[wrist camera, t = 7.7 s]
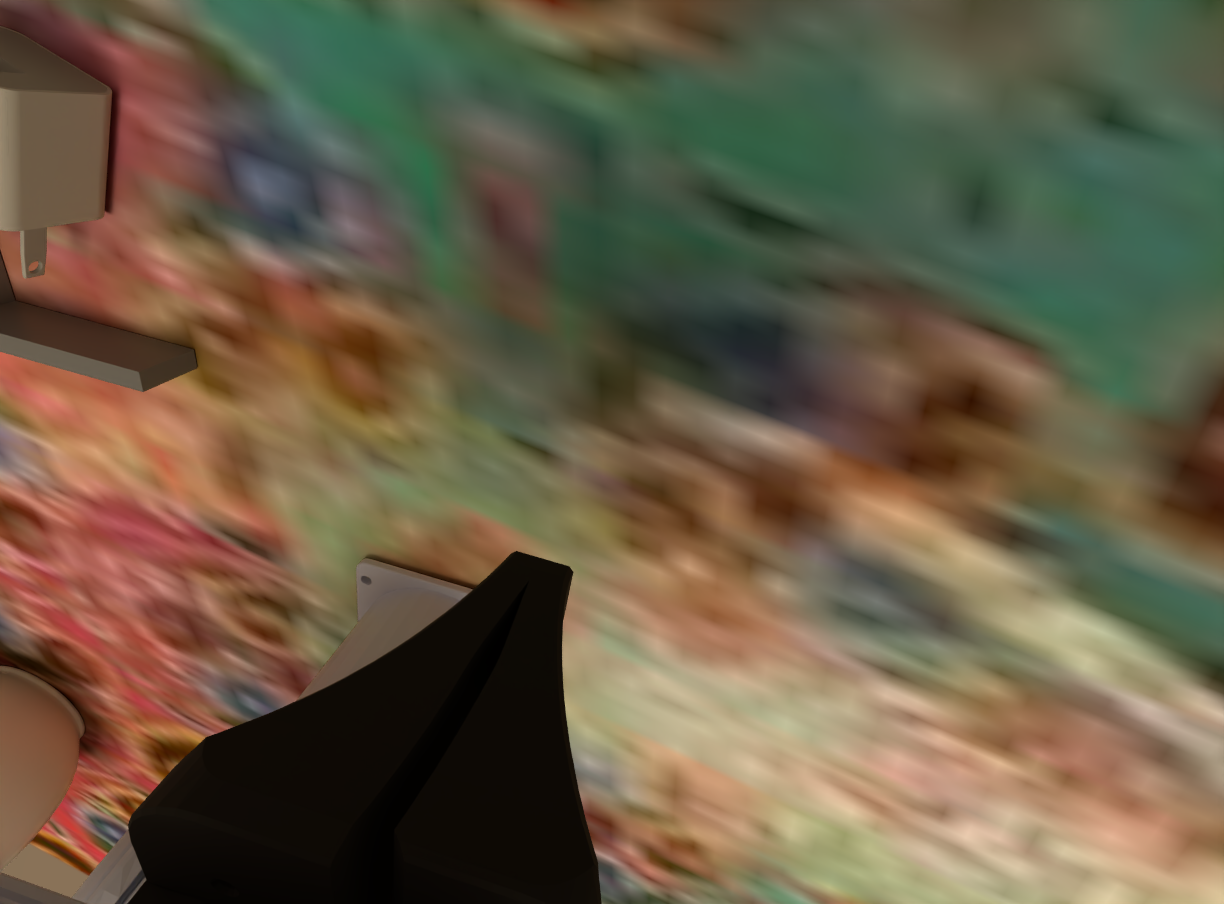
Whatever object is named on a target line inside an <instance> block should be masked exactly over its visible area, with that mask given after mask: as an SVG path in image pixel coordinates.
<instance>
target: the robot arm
mask: <svg viewBox="0 0 1224 904" xmlns="http://www.w3.org/2000/svg"><path fill="white" fill-rule="evenodd" d="M572 576H573V571H572V569H571V568H570V567H569V566H566V565H563V564H559V563H556V562H552V561H549V560H545V559H542V558H539V557H535V556H532V555H528V554H525V553H521V552H518V551H516V552H514V553H512V554H510V555H509V556H508V557H507V558H506V559H505V561H504V562H502V563H501V564H500V565H499V566H498V567H497V568H496V569H495V570H494V571H493V572H492V573H491V574H490V575H489V576H488V577H487V578H486V579H485V580H483V581H482V582H481V583H480V584H479V585H478V586H477V587H476V588H474V589H470V588H467V587H463V586H460V585H456V584H453V583H450V582H446V581H443V580H440V579H436V578H433V577H430V576H426V575H423V574H419V573H416V572H413V571H409V570H406V569H403V568H399V567H396V566H392V565H389V564H386V563H382V562H379V561H376V560H372V559H367V558H366V559H362V560H361V561H360V562H359V564H358V565H357V567H356V578H357V607H358V623H357V624H356V626H355V627H354V628H353V630H352V631H351V632H350V633H349V635H348V636H347V637H346V638H345V640H344V641H343V642H342V644H341V645H340V646H339V647H338V649H337V650H336V651H335V652H334V654H333V655H332V656H331V657H330V659H329V660H328V661H327V663H326V664H325V665H324V666H323V668H322V669H321V670H320V671H319V673H318V674H317V675H316V676H315V678H314V679H313V680H312V682H311V683H310V684H309V685H308V687H307V688H306V689H305V690H304V692H303V693H302V694H301V695H300V697H299V698H298V699H297V701H295V702H293V703H291V704H289V705H287V706H285V707H283V708H280V709H278V710H276V711H273V712H271V713H269V714H266V715H264V716H261V717H258V718H256V719H253V720H251V721H248V722H246V723H243V724H240V725H238V726H235V727H233V728H230V729H228V730H225V731H222V732H220V733H217V734H214V735H211V736H209V737H206V738H205V739H204V740H203V741H202V742H201V743H200V744H199V745H198V746H197V747H196V748H195V749H193V750H192V751H191V752H190V753H189V754H188V755H187V756H185V757H184V758H183V759H182V760H181V761H180V762H179V763H178V764H177V765H176V766H175V767H174V768H173V769H172V770H171V772H170V773H169V774H168V775H167V776H166V777H165V778H164V779H163V780H162V782H161V783H160V784H159V785H158V786H157V787H156V788H155V789H154V791H153V792H152V793H151V794H150V795H149V796H148V797H147V798H146V799H145V801H144V802H143V803H142V804H141V805H140V806H139V807H138V808H137V809H136V811H135V812H134V813H133V814H132V816H131V818H130V821H129V824H128V828H129V830H128V831H127V832H126V833H125V834H124V835H123V837H122V838H121V839H120V840H119V841H118V842H117V843H116V845H115V846H114V847H113V848H112V849H111V850H110V852H109V853H108V854H107V855H106V856H105V857H104V859H103V860H102V861H101V862H100V863H99V865H98V866H97V867H96V868H95V869H94V871H93V872H92V873H91V874H90V875H89V877H88V878H87V879H86V880H85V882H84V883H83V884H82V885H81V886H80V888H79V889H78V890H77V892H76V893H75V894H74V895H73V897H72V898H70V897H68V896H64V895H62V894H59V893H56V892H54V891H51V890H48V889H45V888H43V887H40V886H37V885H34V884H31V883H29V882H26V881H23V880H20V879H18V878H15V877H12V876H9V875H7V874H4V873H1V872H0V904H601V893H600V883H599V872H598V861H597V858H596V854H595V851H594V848H593V844H592V841H591V837H590V833H589V830H588V826H587V822H586V819H585V815H584V810H583V806H582V802H581V798H580V794H579V789H578V784H577V779H576V774H575V769H574V763H573V758H572V753H571V748H570V742H569V734H568V727H567V720H566V711H565V702H564V689H563V671H562V631H563V619H564V614H565V610H566V605H567V600H568V595H569V590H570V586H571V581H572ZM368 577H369V578H368Z"/></svg>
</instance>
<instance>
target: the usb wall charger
mask: <svg viewBox="0 0 1224 904" xmlns="http://www.w3.org/2000/svg"><path fill="white" fill-rule="evenodd" d="M111 102H112V90H111V88H110V87H108V86H107V85H105V84H103V83H102V82H100V81H98V80H97V79H95V78H93V77H92V76H90V75H89V74H87V73H85V72H84V71H82V70H80V69H79V68H77V67H75V66H74V65H72V64H71V63H69V62H67V61H66V60H64V59H62V58H61V57H59V56H57V55H56V54H54V53H53V52H51V51H49V50H48V49H46V48H44V47H43V46H41V45H39V44H38V43H36V42H35V41H33V40H31V39H30V38H28V37H26V36H25V35H23V34H21V33H19V32H16V31H14V30H11V29H9V28H6V27H2V26H0V230H3V231H20V251H21V264H22V274H23V277H24V278H31V277H35V276H40V275H44V272H45V262H46V251H47V227H51V226H58V225H65V224H72V223H78V222H85V221H92V220H98V219H101V218H103V217H104V211H105V196H106V180H107V165H108V149H109V133H110V118H111ZM35 261H38V263H39V265H38V267H37V268H36V269H35V270H34V271H29V270H28V268H29V265H30V264H31V263H32V262H35Z"/></svg>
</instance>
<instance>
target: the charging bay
mask: <svg viewBox="0 0 1224 904" xmlns="http://www.w3.org/2000/svg"><path fill="white" fill-rule="evenodd" d="M0 352H3V353H7V354H10V355H14V356H17V357H21V358H24V359H28V360H32V361H35V362H39V363H42V364H46V365H49V366H53V367H56V368H60V369H64V370H67V371H71V372H74V373H78V374H81V375H85V376H88V377H92V378H96V379H99V380H103V381H106V382H110V383H113V384H117V385H120V386H124V387H127V388H131V389H135V390H138V391H142V392H144V391H147V390H149V389H151V388H153V387H156V386H158V385H160V384H162V383H165V382H167V381H169V380H171V379H174V378H176V377H178V376H180V375H183V374H185V373H187V372H189V371H192V370H194V369H196V368H197V364H196V358H195V352H194V349H190V348H186V347H183V346H179V345H175V344H172V343H168V342H164V341H161V340H157V339H153V338H150V337H146V336H143V335H139V334H135V333H132V332H128V331H124V330H121V329H117V328H113V327H110V326H106V325H102V324H99V323H95V322H91V321H88V320H84V319H80V318H77V317H73V316H69V315H66V314H62V313H58V312H55V311H51V310H47V309H44V308H40V307H36V306H33V305H29V304H25V303H22V302H18V301H15V298H14V295H13V292H12V289H11V286H10V283H9V280H8V276H7V273H6V270H5V267H4V264H3V261H2V258H1V254H0Z"/></svg>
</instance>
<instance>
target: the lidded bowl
mask: <svg viewBox="0 0 1224 904" xmlns="http://www.w3.org/2000/svg"><path fill="white" fill-rule="evenodd" d="M84 732H85V725H84V722H83V719H82V717H81V715H80V714H79V712H78V711H77V709H76V708H75V707H74V706H73V704H72V703H71V702H70V701H69V700H68V699H67V698H66V697H65V696H64V695H62V694H61V693H60V692H59V691H58V690H56V689H55V688H54V687H52V686H51V685H50V684H48V683H47V682H45V681H43V680H42V679H40V678H38V677H36V676H34V675H32V674H30V673H28V672H26V671H23V670H21V669H17V668H14V667H10V666H2V665H0V872H1V871H2V870H3V869H4V868H5V867H6V866H7V865H8V864H9V863H10V862H11V861H12V860H13V859H14V858H15V857H16V856H17V855H18V854H19V853H20V852H21V851H22V850H23V849H24V848H25V847H26V846H27V845H28V844H29V843H30V842H31V841H32V839H33V838H34V837H35V836H36V835H37V834H38V832H39V831H40V830H41V829H42V827H43V826H44V825H45V824H46V823H47V821H48V820H49V819H50V818H51V816H52V815H53V813H54V812H55V811H56V809H57V808H58V806H59V805H60V803H61V802H62V800H63V799H64V797H65V795H66V793H67V791H68V789H69V787H70V785H71V783H72V781H73V778H74V775H75V772H76V769H77V765H78V759H79V739H80V738H81V737H82V736H83V735H84Z"/></svg>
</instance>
